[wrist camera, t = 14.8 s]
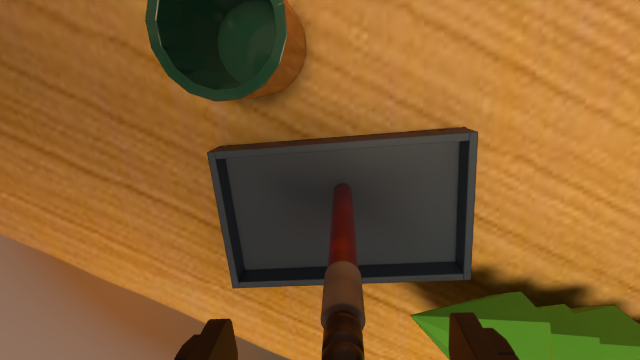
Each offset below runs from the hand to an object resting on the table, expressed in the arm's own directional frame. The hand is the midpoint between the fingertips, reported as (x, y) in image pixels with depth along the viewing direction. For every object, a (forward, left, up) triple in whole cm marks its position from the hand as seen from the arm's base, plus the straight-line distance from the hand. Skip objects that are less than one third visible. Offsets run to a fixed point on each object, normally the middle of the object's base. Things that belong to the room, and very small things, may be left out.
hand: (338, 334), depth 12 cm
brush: (0, 0, -16) cm, 16 cm away
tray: (0, -1, -17) cm, 17 cm away
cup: (-5, +12, -17) cm, 21 cm away
